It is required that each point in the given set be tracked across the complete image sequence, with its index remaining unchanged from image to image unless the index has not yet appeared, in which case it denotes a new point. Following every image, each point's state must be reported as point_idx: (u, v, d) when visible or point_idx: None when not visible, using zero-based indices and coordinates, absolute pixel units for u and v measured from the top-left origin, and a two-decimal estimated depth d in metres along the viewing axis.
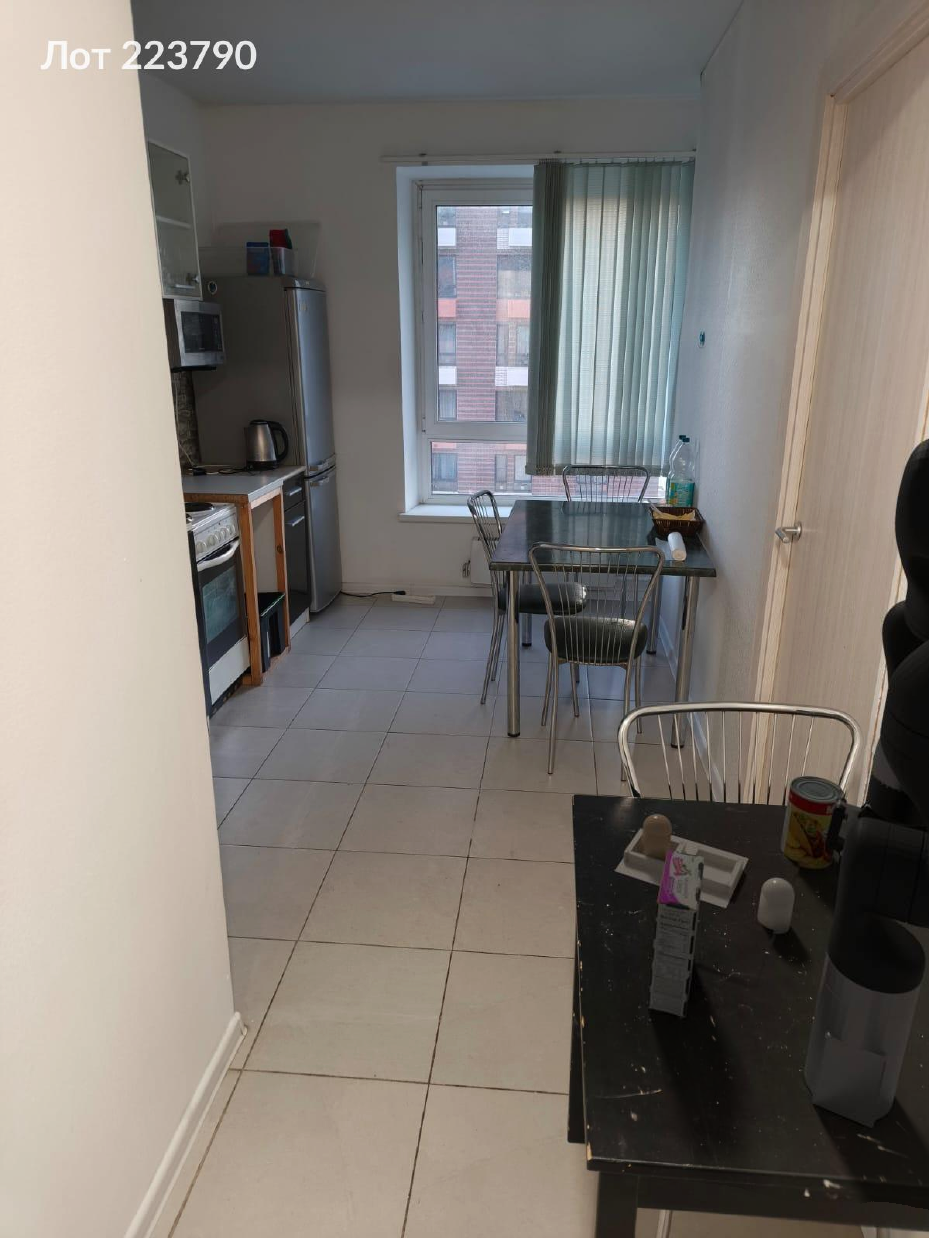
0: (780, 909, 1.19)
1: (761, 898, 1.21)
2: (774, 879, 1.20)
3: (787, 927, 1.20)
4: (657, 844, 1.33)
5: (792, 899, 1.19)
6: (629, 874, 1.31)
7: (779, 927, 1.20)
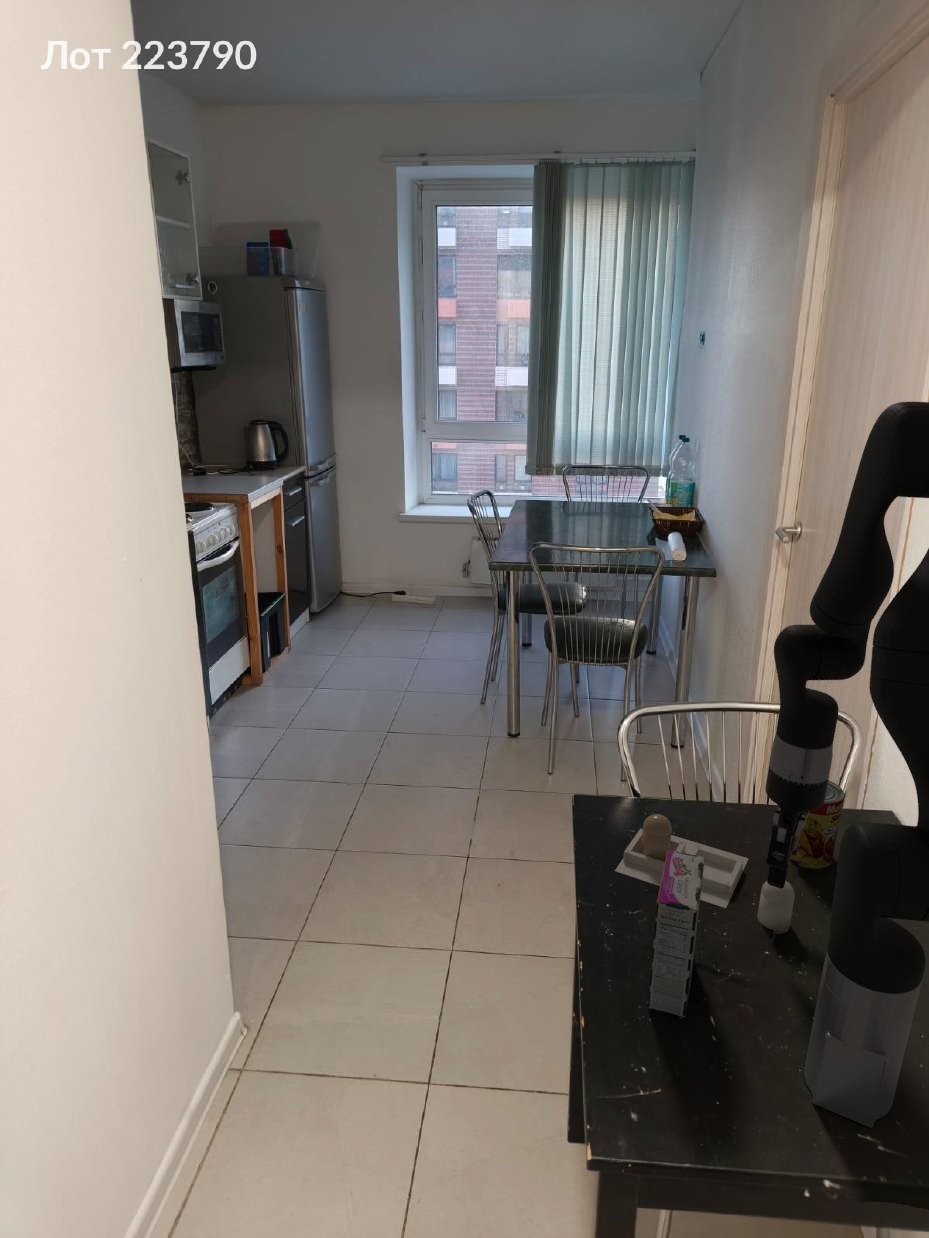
0: (780, 909, 1.19)
1: (761, 898, 1.21)
2: None
3: (787, 927, 1.20)
4: (657, 844, 1.33)
5: (792, 899, 1.19)
6: (629, 874, 1.31)
7: (779, 927, 1.20)
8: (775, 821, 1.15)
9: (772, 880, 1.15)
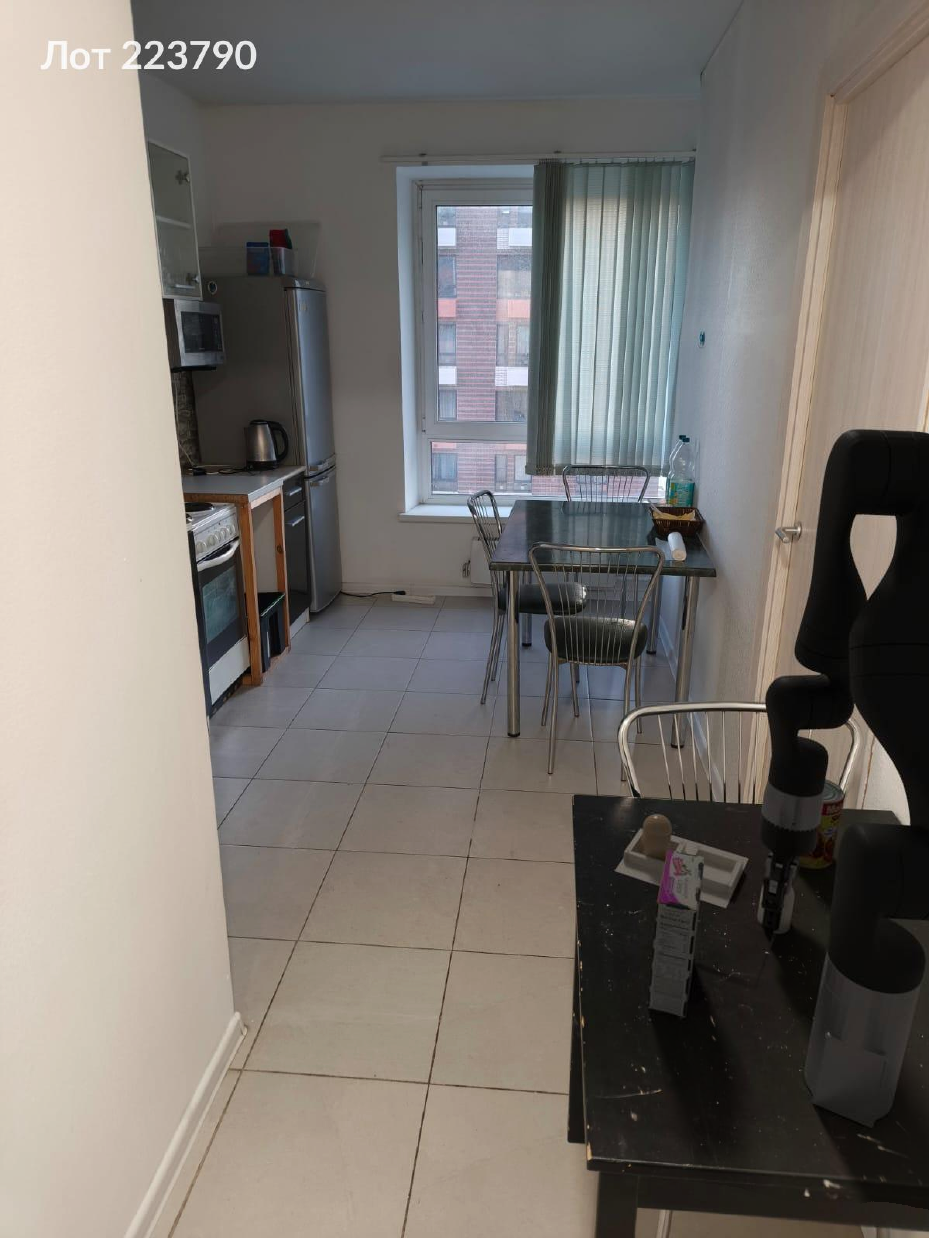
0: None
1: (761, 898, 1.21)
2: None
3: (787, 927, 1.20)
4: (657, 844, 1.33)
5: (792, 899, 1.19)
6: (629, 874, 1.31)
7: (779, 927, 1.20)
8: (768, 867, 1.18)
9: (767, 922, 1.19)
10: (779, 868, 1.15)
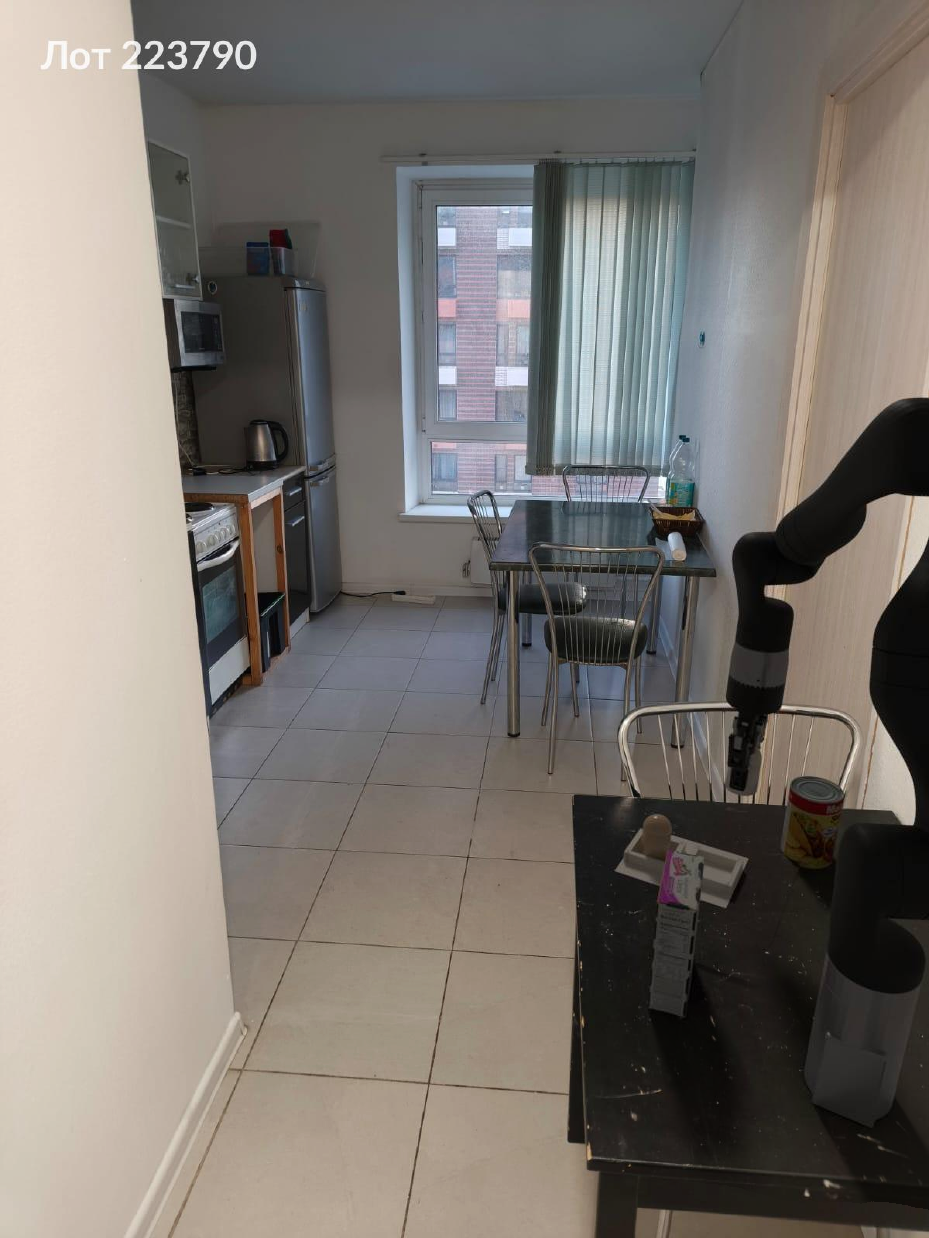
0: None
1: None
2: None
3: (754, 789, 1.22)
4: (657, 844, 1.33)
5: (759, 761, 1.21)
6: (629, 874, 1.31)
7: (746, 789, 1.22)
8: (734, 728, 1.20)
9: (733, 783, 1.21)
10: (745, 726, 1.17)
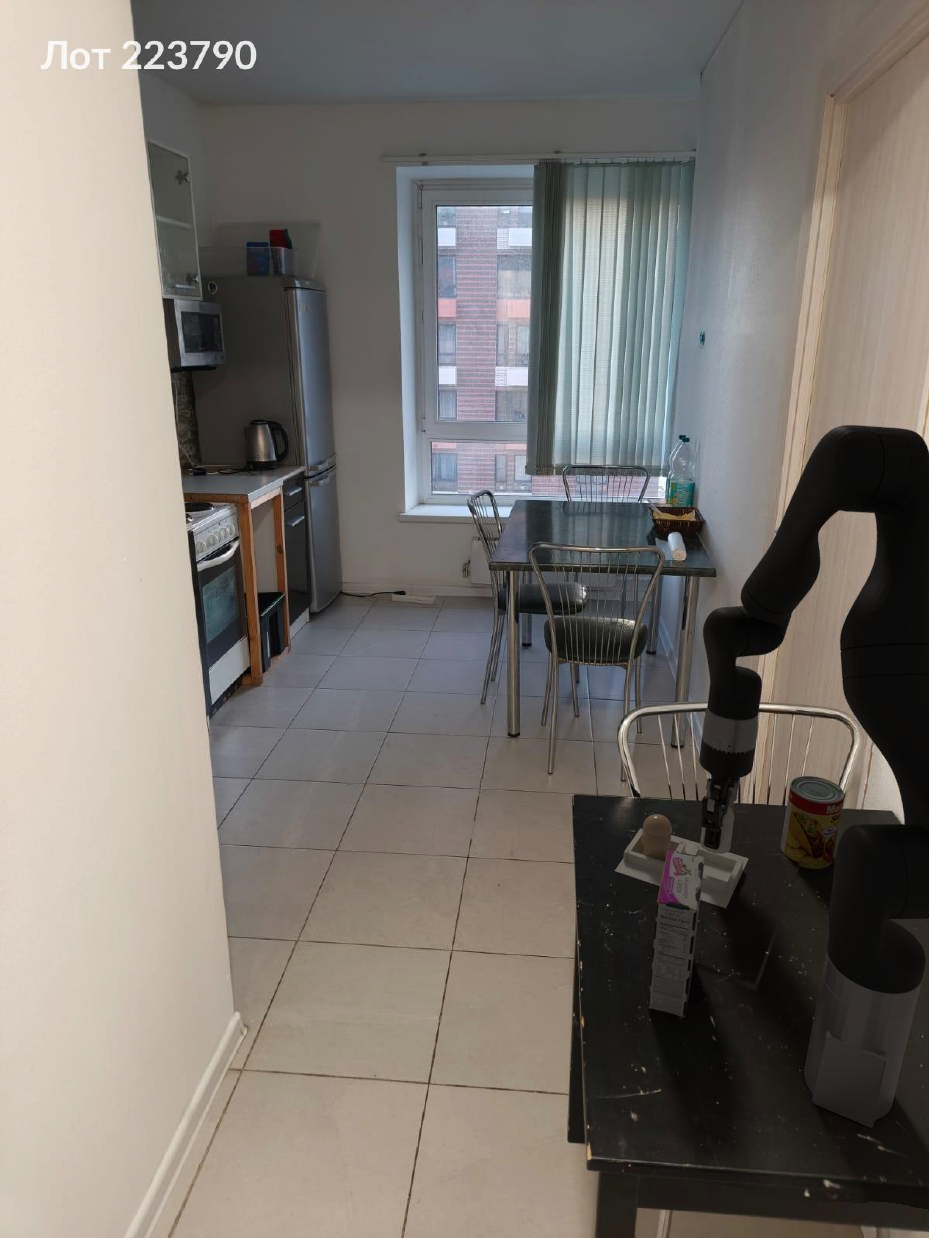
0: None
1: None
2: None
3: (727, 847, 1.28)
4: (657, 844, 1.33)
5: (731, 820, 1.27)
6: (629, 874, 1.31)
7: (719, 847, 1.28)
8: (708, 790, 1.26)
9: (708, 842, 1.27)
10: (717, 789, 1.23)
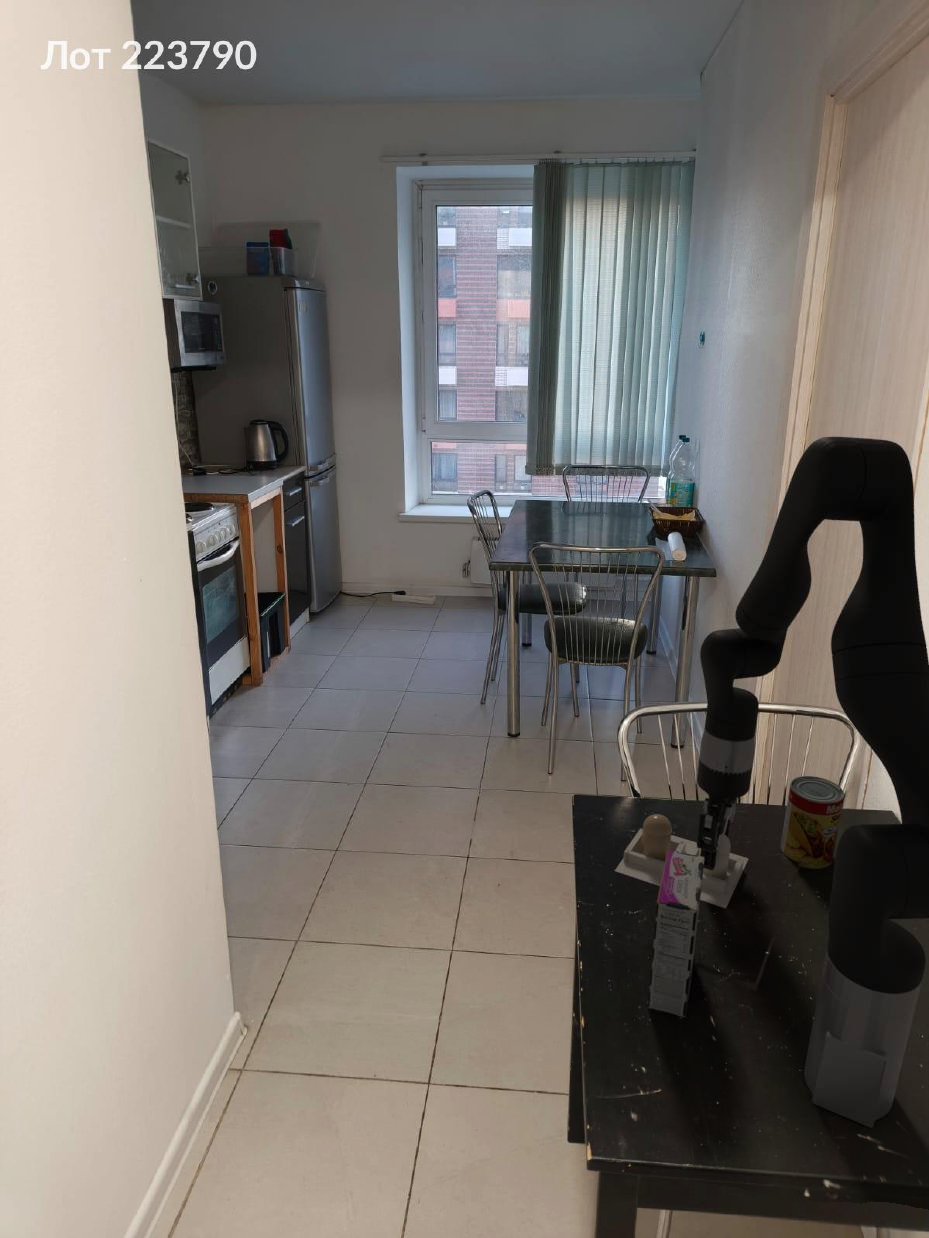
0: (716, 859, 1.29)
1: (700, 849, 1.31)
2: None
3: (724, 876, 1.30)
4: (657, 844, 1.33)
5: (728, 849, 1.29)
6: (629, 874, 1.31)
7: (716, 875, 1.30)
8: (705, 809, 1.27)
9: None
10: (715, 807, 1.24)
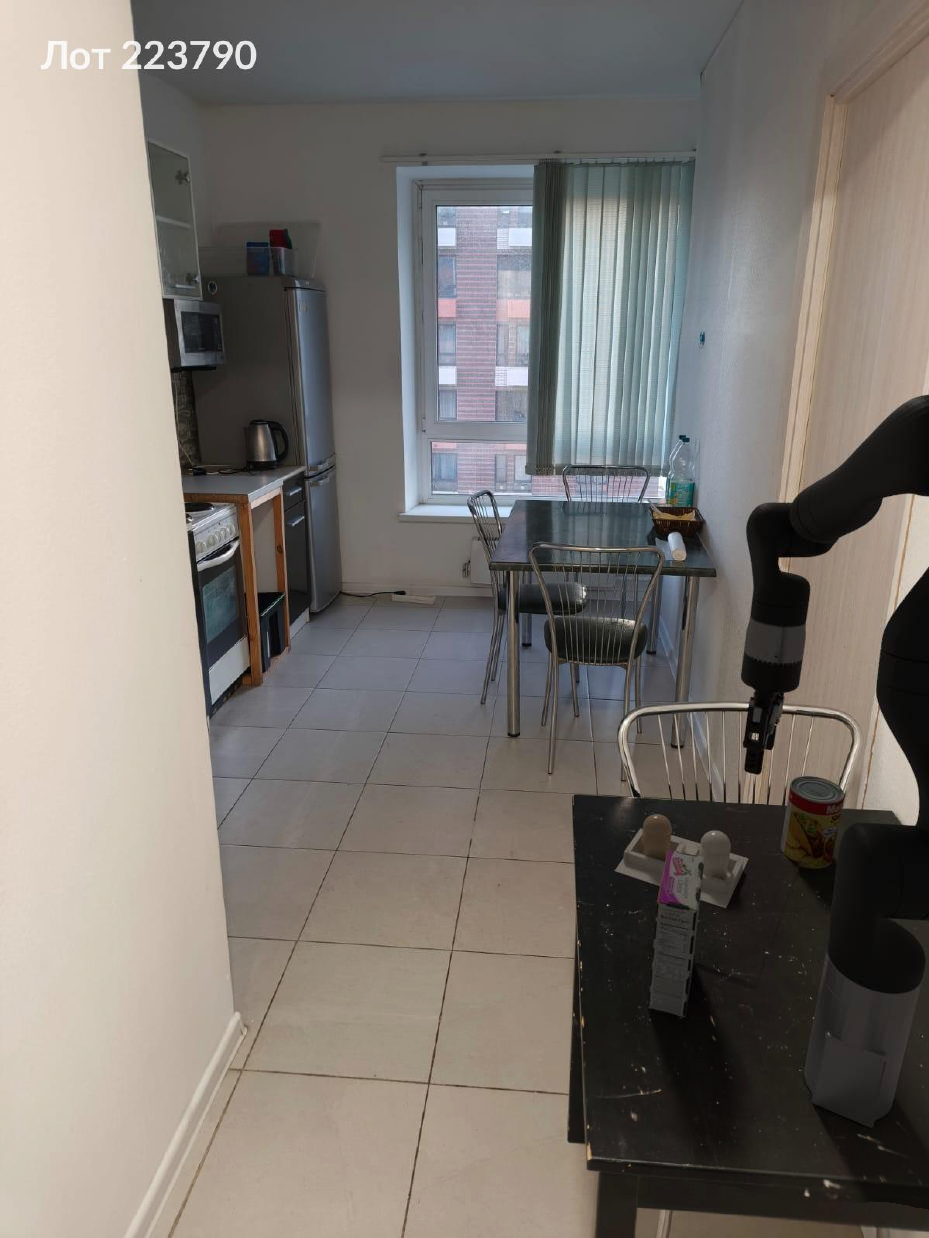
0: (717, 858, 1.29)
1: (700, 849, 1.31)
2: (712, 831, 1.30)
3: (724, 876, 1.30)
4: (657, 844, 1.33)
5: (728, 849, 1.29)
6: (629, 874, 1.31)
7: (716, 875, 1.29)
8: None
9: (749, 766, 1.15)
10: (763, 703, 1.13)
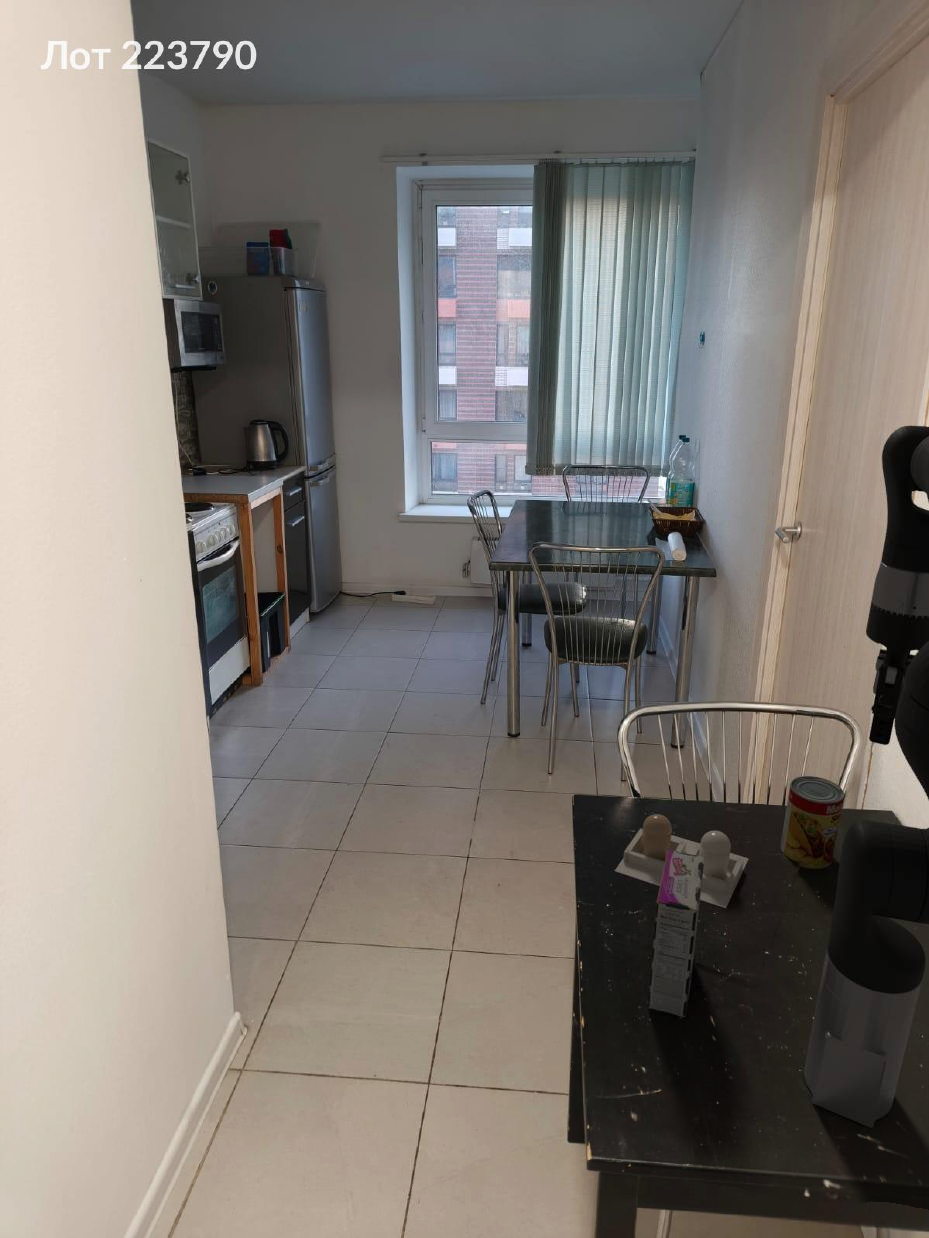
0: (716, 859, 1.29)
1: (700, 849, 1.31)
2: (712, 831, 1.30)
3: (724, 876, 1.30)
4: (657, 844, 1.33)
5: (728, 850, 1.29)
6: (629, 874, 1.31)
7: (715, 875, 1.29)
8: (878, 668, 1.01)
9: (876, 735, 1.00)
10: (895, 662, 0.98)
